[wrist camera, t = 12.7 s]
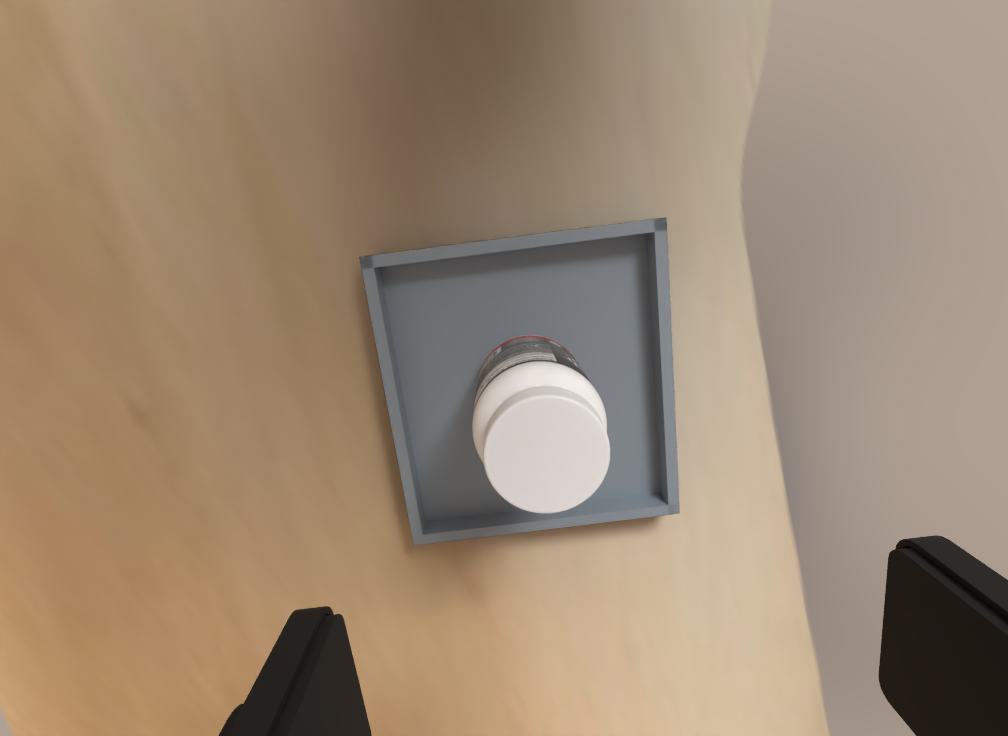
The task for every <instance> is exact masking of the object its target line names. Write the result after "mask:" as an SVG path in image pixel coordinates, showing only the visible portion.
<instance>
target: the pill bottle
mask: <svg viewBox="0 0 1008 736" xmlns="http://www.w3.org/2000/svg"><path fill="white" fill-rule="evenodd" d="M472 430H473V439H474V443H475V447H476V450H477V452H478V455H479V457H480V458H481V460H482V462H483V463H484V467H485V471H486V474H487V477H488V479H489V481H490V483H491V484H492V486H493V487H494V489H495V490H496V491H497V492H498V494H499V495H501V496H502V497H503V498H504V499H505V500H506V501H508V502H509V503H510V504H512V505H514V506H516V507H518V508H520V509H523V510H526V511H529V512H534V513H556V512H561V511H565V510H568V509H571V508H573V507H575V506H577V505H579V504H581V503H582V502H584V501H585V500H586V499H588V498H589V497H590V496H591V495H592V494H593V493H594V492H595V491H596V490H597V489H598V487H599V486H600V484H601V483H602V481H603V479H604V477H605V475H606V473H607V470H608V466H609V462H610V444H609V439H608V435H607V419H606V413H605V409H604V406H603V403H602V400H601V398H600V396H599V394H598V392H597V390H596V389H595V387H594V386H593V384H592V383H591V381H590V380H589V379H588V377H587V376H586V374H585V373H584V371H583V369H582V368H581V366H580V365H579V363H578V362H577V361H576V359H575V358H574V357H573V355H572V354H571V353H570V352H569V351H568V350H567V349H566V348H565V347H564V346H562V345H561V344H559V343H558V342H556V341H554V340H552V339H549V338H546V337H543V336H538V335H523V336H518V337H514V338H511V339H509V340H507V341H505V342H503V343H501V344H500V345H498V346H497V347H496V348H495V349H494V350H493V351H492V352H491V353H490V354H489V355H488V356H487V358H486V359H485V361H484V362H483V364H482V366H481V369H480V371H479V374H478V379H477V386H476V395H475V403H474V411H473V419H472Z"/></svg>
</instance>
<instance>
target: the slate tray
mask: <svg viewBox="0 0 1008 736" xmlns="http://www.w3.org/2000/svg"><path fill="white" fill-rule="evenodd" d="M359 258H360V263H361V268H362V274H363V279H364V284H365V290H366V295H367V300H368V306H369V311H370V316H371V321H372V327H373V332H374V337H375V343H376V348H377V353H378V359H379V364H380V369H381V375H382V380H383V385H384V390H385V396H386V401H387V406H388V412H389V417H390V422H391V428H392V433H393V438H394V443H395V449H396V454H397V459H398V465H399V470H400V475H401V481H402V486H403V491H404V496H405V502H406V507H407V512H408V518H409V523H410V528H411V534H412V539H413V544H414V546H415V545H423V544H431V543H439V542H448V541H456V540H464V539H473V538H481V537H489V536H497V535H506V534H514V533H522V532H530V531H539V530H547V529H555V528H563V527H572V526H580V525H588V524H596V523H605V522H613V521H621V520H629V519H638V518H646V517H654V516H663V515H671V514H679V513H680V510H679V488H678V466H677V443H676V421H675V399H674V377H673V355H672V333H671V311H670V288H669V266H668V244H667V222H666V218H659V219H650V220H643V221H635V222H627V223H619V224H611V225H603V226H596V227H588V228H580V229H572V230H564V231H557V232H549V233H541V234H533V235H525V236H517V237H510V238H502V239H494V240H486V241H478V242H471V243H463V244H455V245H447V246H439V247H431V248H424V249H416V250H408V251H400V252H392V253H385V254H377V255H369V256H362V257H359ZM523 335H538V336H543V337H546V338H549V339H552V340H554V341H556V342H558V343H559V344H561V345H562V346H564V347H565V348H566V349H567V350H568V351H569V352H570V353H571V354H572V355H573V357H574V358H575V359H576V361H577V362H578V363H579V365H580V366H581V368H582V369H583V371H584V373H585V374H586V376H587V377H588V379H589V380H590V381H591V383H592V384H593V386H594V387H595V389H596V390H597V392H598V394H599V396H600V398H601V400H602V403H603V406H604V409H605V413H606V419H607V435H608V439H609V444H610V462H609V466H608V470H607V473H606V475H605V477H604V479H603V481H602V483H601V484H600V486H599V487H598V489H597V490H596V491H595V492H594V493H593V494H592V495H591V496H590V497H589V498H588V499H586V500H585V501H584V502H582V503H581V504H579V505H577V506H575V507H573V508H571V509H568V510H565V511H561V512H556V513H534V512H529V511H526V510H523V509H520V508H518V507H516V506H514V505H512V504H510V503H509V502H508V501H506V500H505V499H504V498H503V497H502V496H501V495H499V494H498V492H497V491H496V490H495V489H494V487H493V486H492V484H491V483H490V481H489V479H488V477H487V474H486V471H485V467H484V463H483V462H482V460H481V458H480V457H479V455H478V452H477V450H476V447H475V443H474V439H473V430H472V419H473V411H474V403H475V395H476V386H477V379H478V374H479V371H480V369H481V366H482V364H483V362H484V361H485V359H486V358H487V356H488V355H489V354H490V353H491V352H492V351H493V350H494V349H495V348H496V347H497V346H498V345H500V344H501V343H503V342H505V341H507V340H509V339H511V338H514V337H518V336H523Z"/></svg>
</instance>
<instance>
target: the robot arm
mask: <svg viewBox="0 0 1008 736" xmlns="http://www.w3.org/2000/svg"><path fill="white" fill-rule="evenodd" d="M879 682H880V686H881V689H882V691H883V694H884V695H885V697H886V699H887V700H888V702H889V703H890V704H891V706H892V707H893V708H894V709H895V711H896V712H897V713H898V714H899V715H900V717H901V718H902V719H903V720H904V721H905V723H906V724H907V725H908V726H909V727H910V729H911V730H912V731H913V732H914V733H915V735H916V736H1008V580H1007V579H1005V578H1004V577H1002V576H1001V575H999V574H998V573H997V572H995V571H994V570H992V569H991V568H989V567H988V566H986V565H985V564H983V563H982V562H981V561H979V560H978V559H976V558H975V557H973V556H972V555H970V554H969V553H967V552H966V551H964V550H963V549H961V548H960V547H959V546H957V545H956V544H954V543H953V542H951V541H950V540H948V539H946V538H944V537H942V536H928V537H919V538H910V539H903V540H901V541H899V542H898V544H897V545H896V549H895V550H893V551H891V552H890V554H889V558H888V569H887V580H886V593H885V605H884V617H883V629H882V642H881V654H880V666H879ZM219 736H372V735H371V730H370V726H369V722H368V718H367V713H366V709H365V705H364V701H363V697H362V693H361V689H360V684H359V680H358V676H357V672H356V668H355V664H354V660H353V655H352V651H351V647H350V643H349V639H348V635H347V631H346V626H345V622H344V619H343V617H342V615H340V614H336V615H334V614H333V611H332V609H331V608H330V607H327V606H326V607H317V608H309V609H300V610H295V611H294V612H293V613H292V614H291V615H290V617H289V619H288V621H287V623H286V625H285V626H284V628H283V630H282V632H281V634H280V636H279V638H278V640H277V642H276V644H275V645H274V647H273V649H272V651H271V653H270V655H269V657H268V659H267V661H266V662H265V664H264V666H263V668H262V670H261V672H260V674H259V676H258V678H257V680H256V681H255V683H254V685H253V687H252V689H251V691H250V693H249V695H248V697H247V698H246V700H245V702H244V704H241V705H239V706H238V707H237V708H236V709H234V711H233V712H232V714H231V715H230V716H229V718H228V719H227V721H226V723H225V725H224V727H223V729H222V730H221V732H220V734H219Z"/></svg>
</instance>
